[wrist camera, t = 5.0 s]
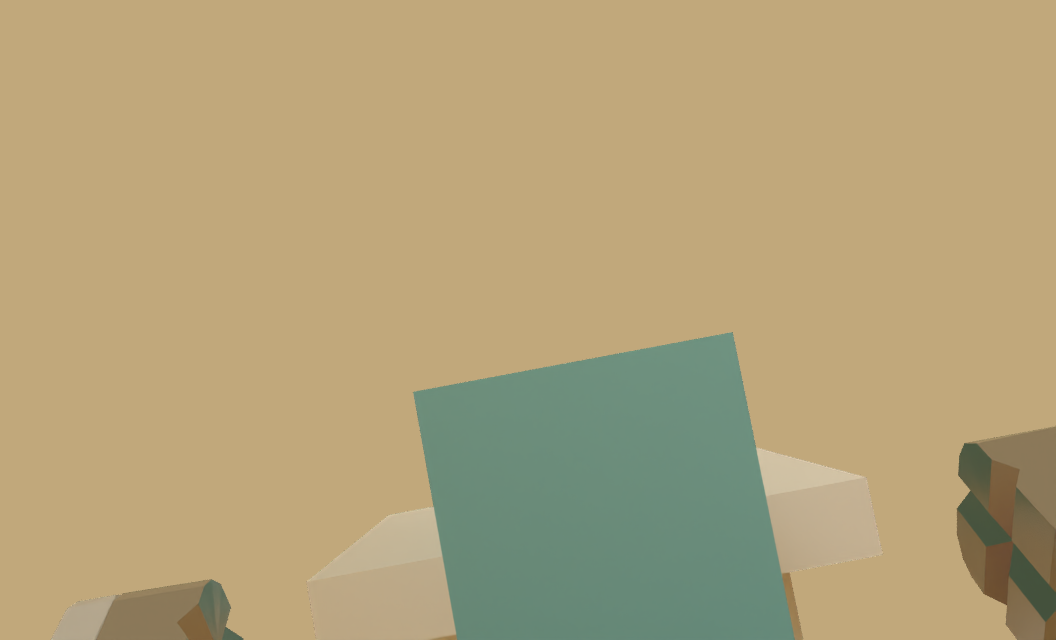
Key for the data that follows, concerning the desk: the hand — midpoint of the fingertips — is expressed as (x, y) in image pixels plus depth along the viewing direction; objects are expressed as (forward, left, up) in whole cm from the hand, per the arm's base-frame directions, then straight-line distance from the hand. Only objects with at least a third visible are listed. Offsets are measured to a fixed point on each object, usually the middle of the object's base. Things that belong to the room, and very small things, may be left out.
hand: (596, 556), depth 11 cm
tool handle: (-9, +6, -1) cm, 11 cm away
